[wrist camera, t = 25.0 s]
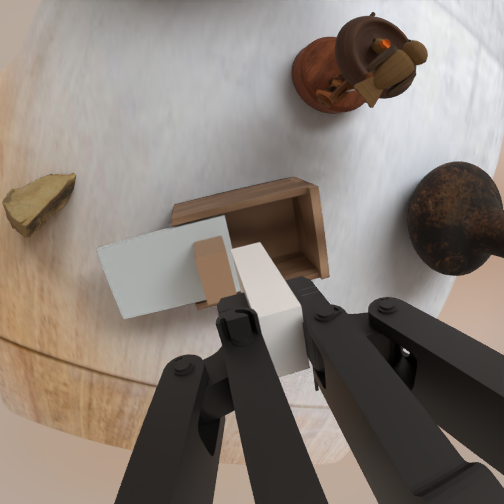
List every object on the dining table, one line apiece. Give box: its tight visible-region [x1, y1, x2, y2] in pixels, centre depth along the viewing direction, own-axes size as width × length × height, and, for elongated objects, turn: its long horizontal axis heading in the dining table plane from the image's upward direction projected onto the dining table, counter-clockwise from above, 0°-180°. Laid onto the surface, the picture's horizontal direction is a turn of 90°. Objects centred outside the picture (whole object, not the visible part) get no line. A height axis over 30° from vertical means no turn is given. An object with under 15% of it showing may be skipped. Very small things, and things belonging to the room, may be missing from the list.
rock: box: [3, 173, 76, 237], centre depth 33 cm, size 11×9×10 cm
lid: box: [97, 214, 241, 319], centre depth 33 cm, size 9×15×6 cm, turn 101°
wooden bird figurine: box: [292, 12, 428, 113], centre depth 29 cm, size 15×11×20 cm
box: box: [170, 177, 330, 310], centre depth 39 cm, size 11×16×9 cm
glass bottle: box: [408, 161, 504, 276], centre depth 35 cm, size 18×18×28 cm
